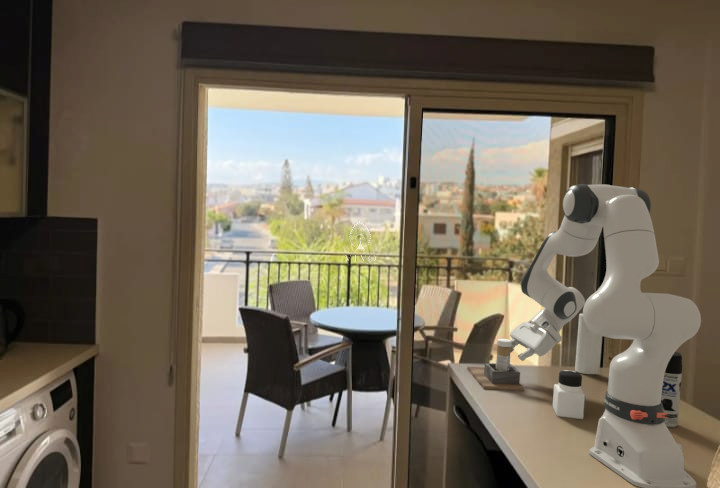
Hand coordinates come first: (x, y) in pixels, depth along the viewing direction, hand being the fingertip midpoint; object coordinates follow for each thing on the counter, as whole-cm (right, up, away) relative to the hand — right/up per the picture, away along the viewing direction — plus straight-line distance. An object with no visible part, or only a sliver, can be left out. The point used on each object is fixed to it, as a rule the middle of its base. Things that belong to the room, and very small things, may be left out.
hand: (513, 354), depth 168 cm
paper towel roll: (+31, -10, +16) cm, 36 cm away
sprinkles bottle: (-4, -8, 0) cm, 9 cm away
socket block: (-6, -9, +3) cm, 11 cm away
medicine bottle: (+8, -12, -24) cm, 28 cm away
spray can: (+33, -13, -28) cm, 45 cm away
